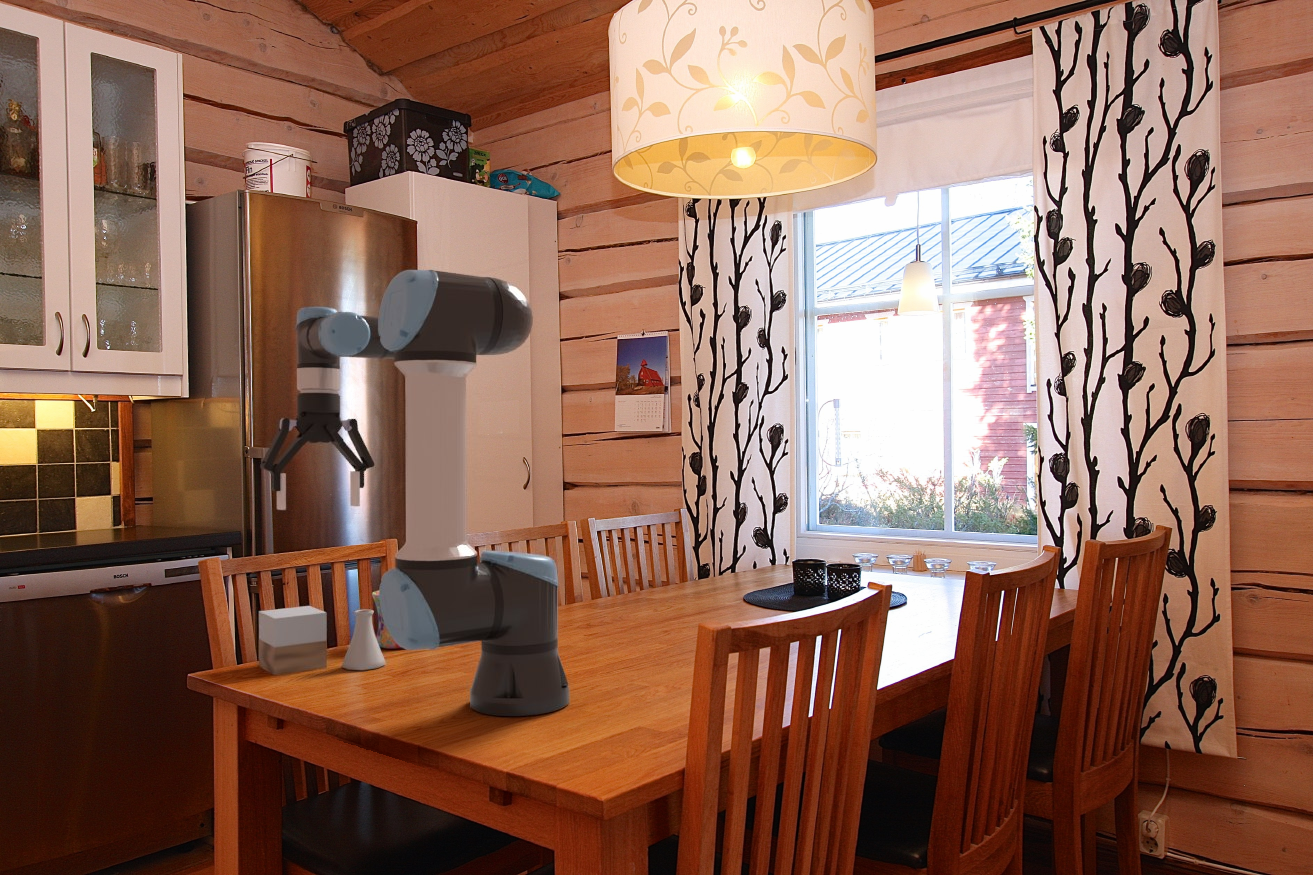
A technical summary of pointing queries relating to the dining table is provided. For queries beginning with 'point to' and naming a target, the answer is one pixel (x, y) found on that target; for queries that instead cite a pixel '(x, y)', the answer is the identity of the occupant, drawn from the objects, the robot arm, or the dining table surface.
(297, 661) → the block bottom
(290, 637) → the block top
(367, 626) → the flask
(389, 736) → the dining table surface
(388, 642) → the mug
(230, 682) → the dining table surface
